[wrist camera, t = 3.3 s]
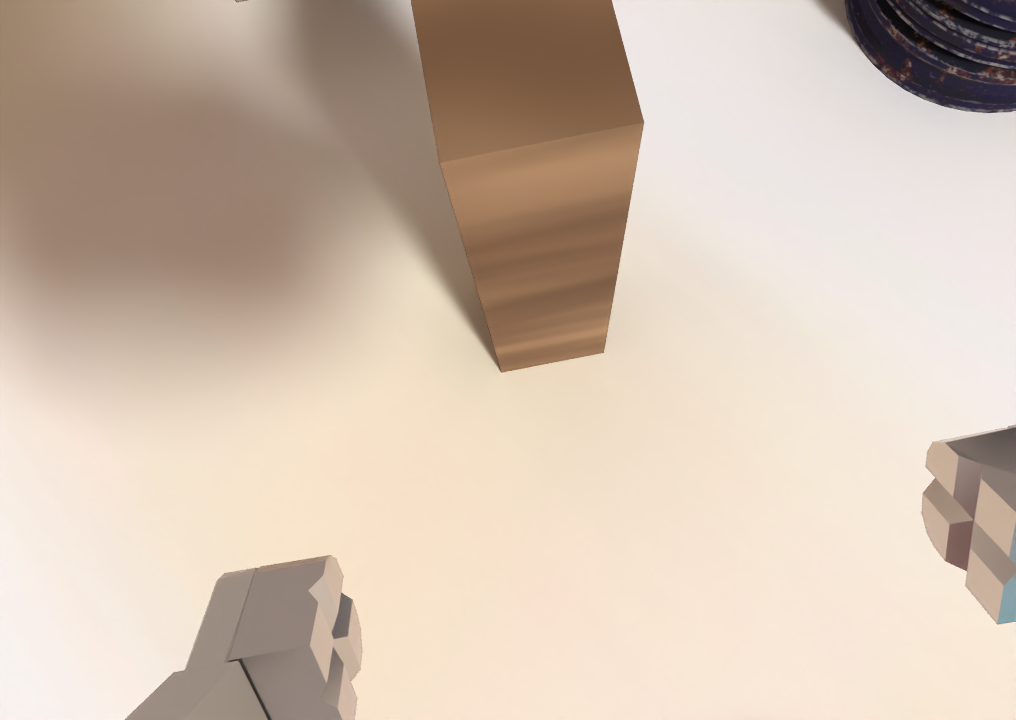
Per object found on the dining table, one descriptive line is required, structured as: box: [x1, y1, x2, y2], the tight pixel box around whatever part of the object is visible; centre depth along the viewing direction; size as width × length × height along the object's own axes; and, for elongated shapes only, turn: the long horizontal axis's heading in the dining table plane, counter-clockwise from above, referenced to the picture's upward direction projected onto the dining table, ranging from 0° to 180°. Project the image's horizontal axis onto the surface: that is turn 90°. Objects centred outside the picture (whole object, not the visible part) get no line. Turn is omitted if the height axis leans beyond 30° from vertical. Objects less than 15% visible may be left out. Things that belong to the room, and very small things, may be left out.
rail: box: [411, 0, 644, 372], centre depth 21 cm, size 4×4×14 cm
